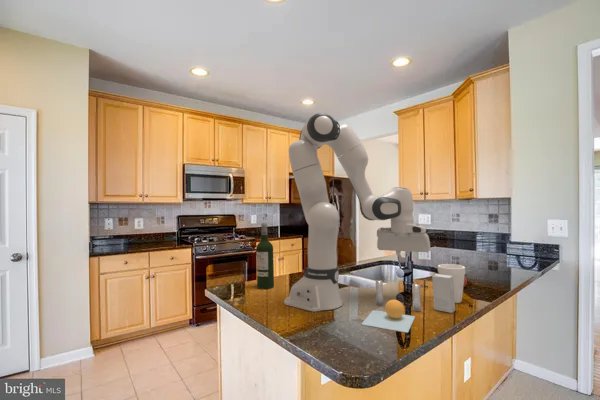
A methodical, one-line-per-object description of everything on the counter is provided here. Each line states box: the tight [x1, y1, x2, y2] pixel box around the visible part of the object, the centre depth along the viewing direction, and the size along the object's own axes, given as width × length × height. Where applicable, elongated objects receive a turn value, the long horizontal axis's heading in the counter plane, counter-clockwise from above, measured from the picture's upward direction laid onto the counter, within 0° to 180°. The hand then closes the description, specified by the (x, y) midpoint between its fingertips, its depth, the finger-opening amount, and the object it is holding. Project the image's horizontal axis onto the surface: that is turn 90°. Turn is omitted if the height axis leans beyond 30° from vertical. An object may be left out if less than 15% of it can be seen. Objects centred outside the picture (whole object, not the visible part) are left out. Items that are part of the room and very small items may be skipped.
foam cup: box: [437, 263, 466, 304], centre depth 116 cm, size 10×9×13 cm
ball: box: [384, 299, 405, 319], centre depth 99 cm, size 6×6×6 cm
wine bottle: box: [255, 222, 275, 290], centre depth 142 cm, size 8×8×30 cm
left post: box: [375, 279, 384, 307], centre depth 113 cm, size 3×3×9 cm
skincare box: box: [431, 273, 456, 314], centre depth 106 cm, size 6×4×12 cm
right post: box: [411, 283, 422, 312], centre depth 107 cm, size 3×3×9 cm
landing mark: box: [361, 309, 416, 334], centre depth 97 cm, size 14×14×1 cm
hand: (403, 262), depth 121 cm, fingers closed
